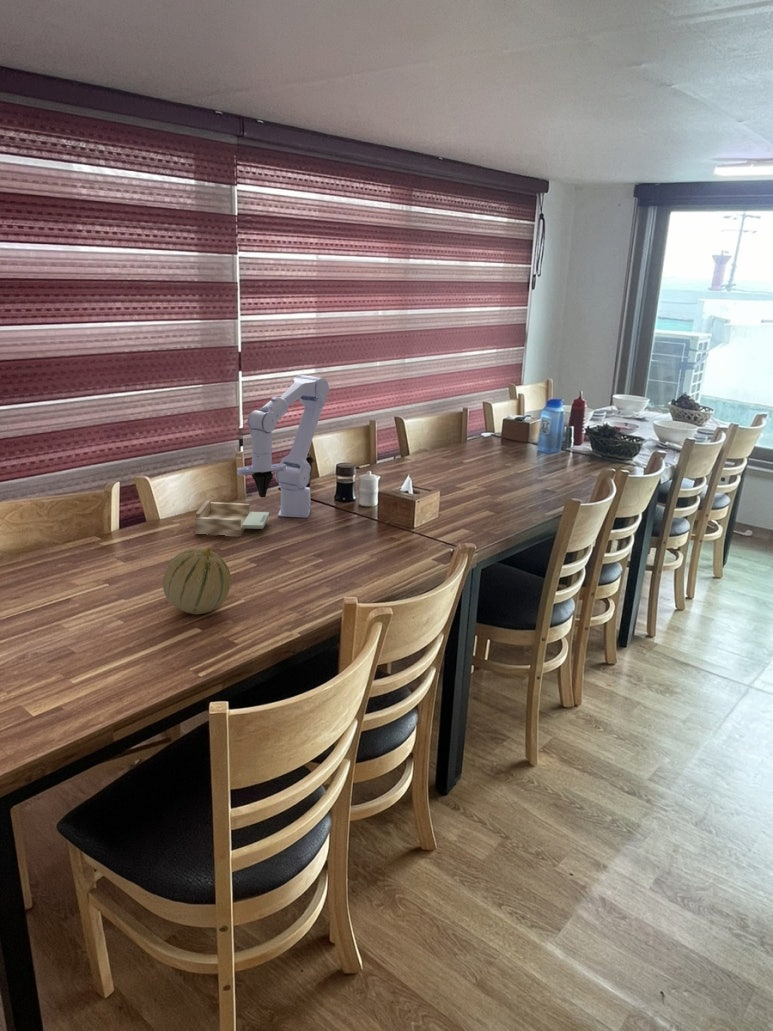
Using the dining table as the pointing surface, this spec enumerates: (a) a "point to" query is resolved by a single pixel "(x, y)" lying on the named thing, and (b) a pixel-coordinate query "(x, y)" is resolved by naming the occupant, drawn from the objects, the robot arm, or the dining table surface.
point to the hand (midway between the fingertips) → (262, 496)
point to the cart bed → (221, 518)
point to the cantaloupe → (196, 581)
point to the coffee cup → (310, 461)
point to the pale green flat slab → (256, 520)
